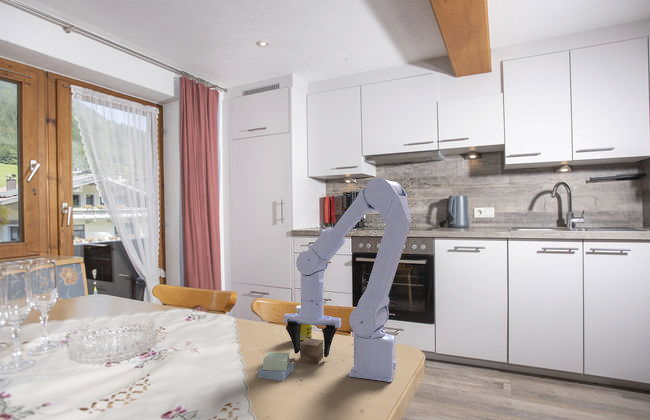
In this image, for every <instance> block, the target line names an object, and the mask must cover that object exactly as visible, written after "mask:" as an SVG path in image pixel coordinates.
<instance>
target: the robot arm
mask: <svg viewBox="0 0 650 420" xmlns="http://www.w3.org/2000/svg"><path fill="white" fill-rule="evenodd" d="M372 212H378V213H379V214H380V215H379V216H381V218H382V220H383V221H384V223H385V227H384V231H383V235H382V238H381V241H380V243H379V247H378V251H377V253H376V257H375V259H374V263H373V265H372V268H371V269H372V270H371V273H370V276H369V279H368V283H367V285H366V289H365V290H364V292H363V294H362V295H361V297H360V299H358V303H357V306H356V307H355V308H354V309H353V310H352V311H351V312H350V315H349V319H348V321H349V322H348V323H349V326H350V329H351V331H353V366H352V368H351V369H350V371H349V373H348V376H349V377H350V378H357V379H358V378H359V379H364V380H365V379H366V380H373V381H380V382H388V383H392V382H393V379H394V375H395V371H396V367H397V361H396V337H395V335H393V334H388V333H387V332H386V327H385V325H386V323H388V320H389V317H390V313H389V304H390V297H389V295H390V291H391V289H392V285H393V283H394V278H395V276H396V272H397V269H398V266H399V263H400V260H401V257H402V254H403V251H404V248H405V244H406V242H407V239H408V235H409V232H410V229H411V226H412V222H413V221H412V216H411V213H410V212H411V211H410V207H409V203H408V193H406V191H405V189H404V188H403V186H401V184H400V183H398V181H397V182H396V181H394V180H387V179H384V178H382V177H375V178H373V179H371V180H369V181H368V182H367V183H366V185H365V187H363V188H362V189H361V190H360V191H359V192H358V194H357V196H356V198H355V199H354V200H353V202H352V203H351V204H350V205H349V207H348V208H347V210H346V211H345V212H344V213H343V214H342V216H341V217H340V219H339V220H338V221H336V222H337V223H336V224H335V225H334V226H333V227H326V228H325V229H321V230H320V231H319V236H318V237H317V238H316V240H315V241H314V242H313V243H311V244H310V245H309V246H308V250H302V251H301V252H299V254H298V256H297V258H296V261H295V262H296V263H295V265H296V268H297V271H299V273H300V305H301V314H296V313H287V312H286V313H285V314H283V324H286V326H285V331H287V333H288V335H289V338H290V340H291V343H292V346H293V350H294V354H295V355H297V354H298V353H300V334H301V325H302V324H310V325H312V326H321V327H324V328H323V329H322V335H323V358H328V357H329V355H330V350H331V345H332V342H333V339H334V336H335V334H336V332H337V330H338V329H340V328H341V327H342V318H341V317H334V316H330V315H325V314H324V305H325V304H324V296H325V295H324V289H325V288H324V283H325V282H324V281H325V280H324V277H325V271H326V270H327V269H328V265H329V262H330V260H331V259H332V258H334V256H335V255H336V254H337V252H339V250H340V249H341V248H342V247H343V246H344V244H345V241H346V240H345V236H346V235H347V234H348V233H349V232H350V231H351V230H352V229H353V228H354V227H355V226H356V225H357V224H358V223H359V222H360V221H361V220H362V219H363V217H365V216H366V215H367V214H369V213H372Z"/></svg>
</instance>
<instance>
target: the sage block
mask: <svg viewBox="0 0 650 420" xmlns="http://www.w3.org/2000/svg"><path fill="white" fill-rule="evenodd" d="M262 360H263V362H262V364H263V365H262V366H263V370H274V371H286V369H287V366H288V364H289V363H290V352H282V351H267V353H266V355H265V356H264V357H263V359H262Z"/></svg>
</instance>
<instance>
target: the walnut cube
mask: <svg viewBox="0 0 650 420" xmlns="http://www.w3.org/2000/svg"><path fill="white" fill-rule="evenodd" d="M323 358H324V339H318V338H312V339H310V338H306V339H305V340H304V341H303V342H302V343H301V344H300V351H299V362H300V363H303V364H311V365H312V364H313V365H319V363H320V362H321V361H322V360H323Z"/></svg>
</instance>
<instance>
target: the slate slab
mask: <svg viewBox="0 0 650 420" xmlns="http://www.w3.org/2000/svg"><path fill="white" fill-rule="evenodd" d="M294 364H295V363H294V362H289V364H288V366H287V369H286V371H274V370H263V365H262V366H261V367H260V368H258V370H257V378H258V379H259V378H260V379H267V380H272V381H273V380H274V381H279V382H284V381H285V380H286V379H287V378H288V376H290V375H291V374H292V372H294V367H295V366H294Z"/></svg>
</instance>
